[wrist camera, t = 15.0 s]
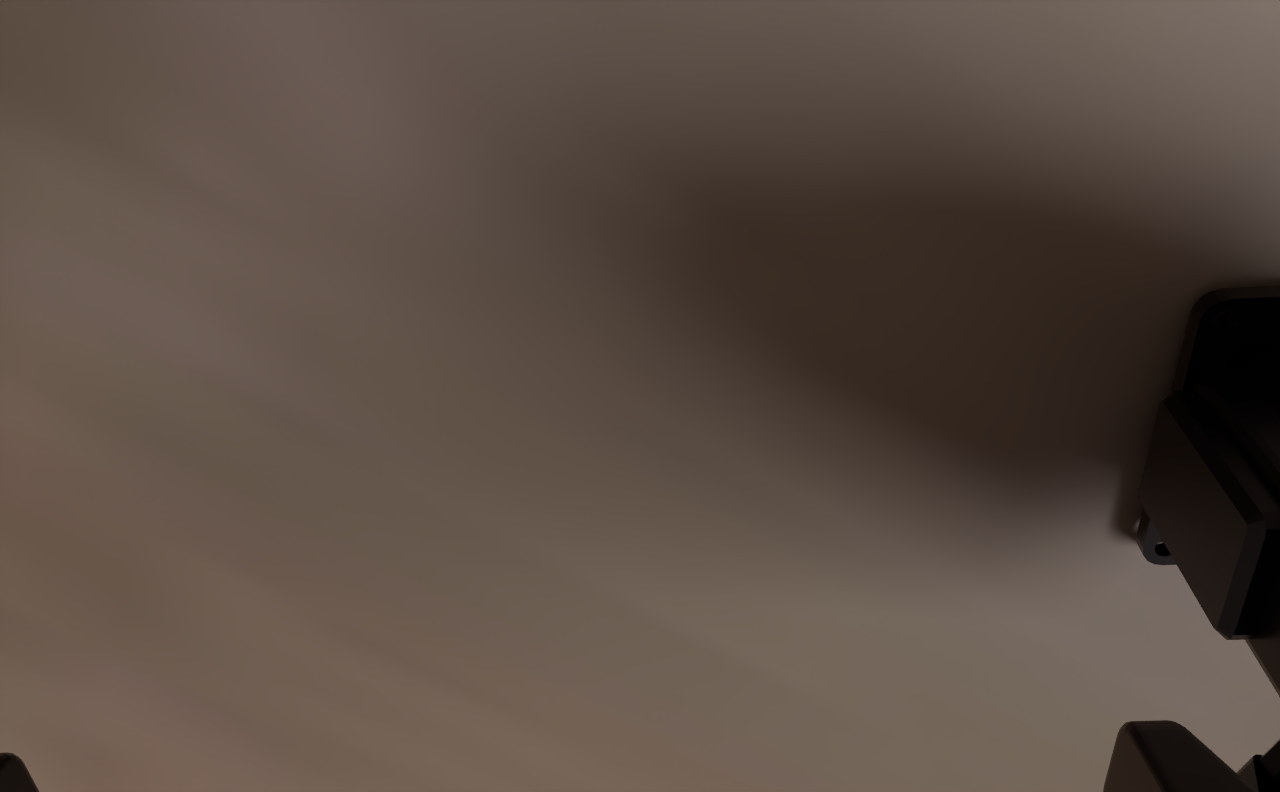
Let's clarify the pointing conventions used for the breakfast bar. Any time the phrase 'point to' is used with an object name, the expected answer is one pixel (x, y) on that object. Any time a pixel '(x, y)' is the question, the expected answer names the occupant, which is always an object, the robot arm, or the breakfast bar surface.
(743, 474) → the breakfast bar surface
